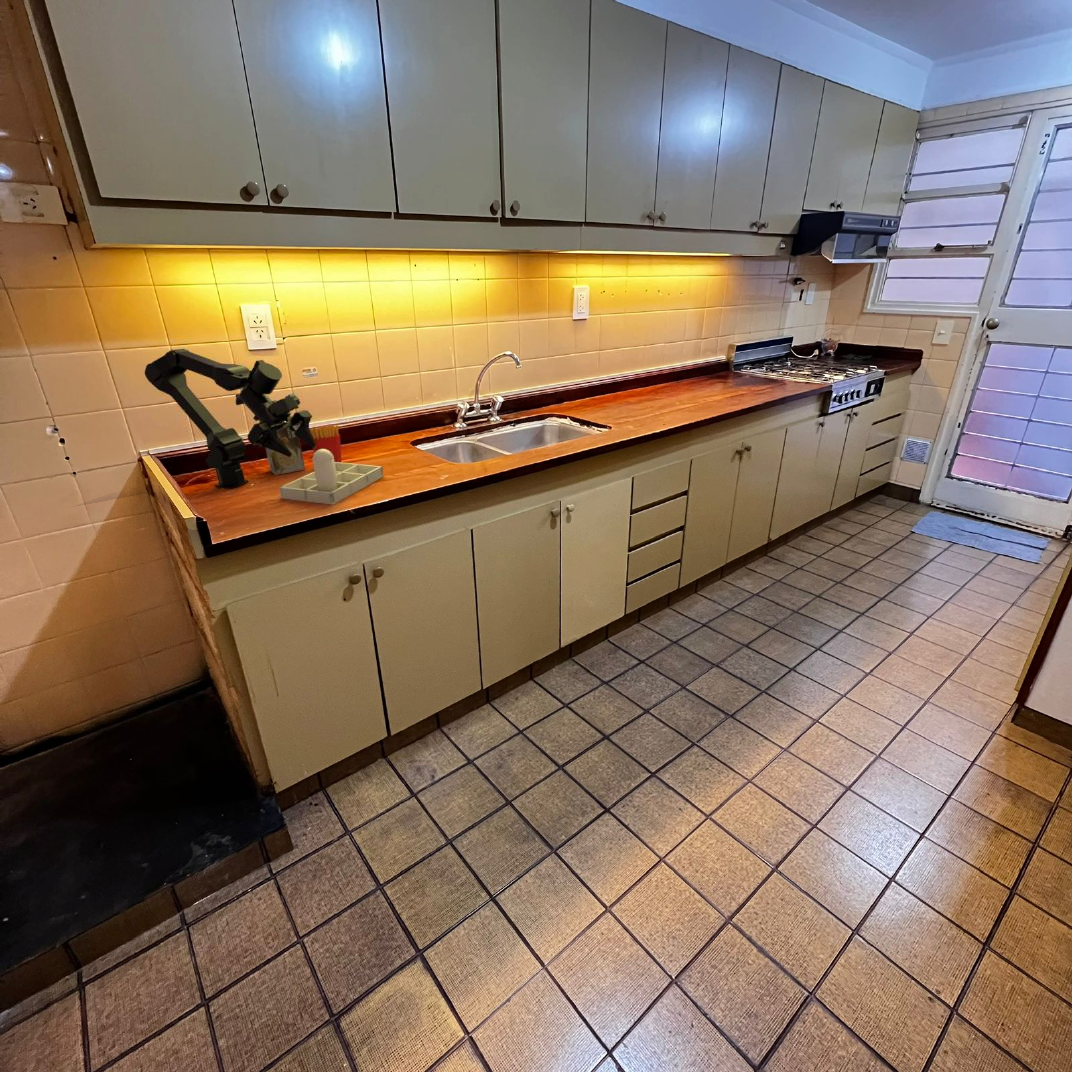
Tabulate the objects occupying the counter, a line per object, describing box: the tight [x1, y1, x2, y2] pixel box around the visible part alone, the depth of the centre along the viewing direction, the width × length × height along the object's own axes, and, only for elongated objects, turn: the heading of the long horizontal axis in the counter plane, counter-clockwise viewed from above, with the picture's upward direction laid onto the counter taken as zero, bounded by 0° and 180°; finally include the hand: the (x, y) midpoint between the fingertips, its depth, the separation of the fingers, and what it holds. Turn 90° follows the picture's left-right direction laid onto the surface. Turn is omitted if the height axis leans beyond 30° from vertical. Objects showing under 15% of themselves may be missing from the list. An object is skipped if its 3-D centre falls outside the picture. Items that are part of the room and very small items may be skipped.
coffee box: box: [258, 415, 306, 476], centre depth 171 cm, size 9×6×16 cm
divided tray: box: [278, 461, 384, 506], centre depth 159 cm, size 16×24×3 cm
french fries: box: [310, 424, 343, 463], centre depth 175 cm, size 9×4×13 cm, turn 121°
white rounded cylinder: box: [312, 449, 338, 492], centre depth 149 cm, size 5×5×13 cm
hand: (303, 451), depth 149 cm, fingers open, 9 cm apart
